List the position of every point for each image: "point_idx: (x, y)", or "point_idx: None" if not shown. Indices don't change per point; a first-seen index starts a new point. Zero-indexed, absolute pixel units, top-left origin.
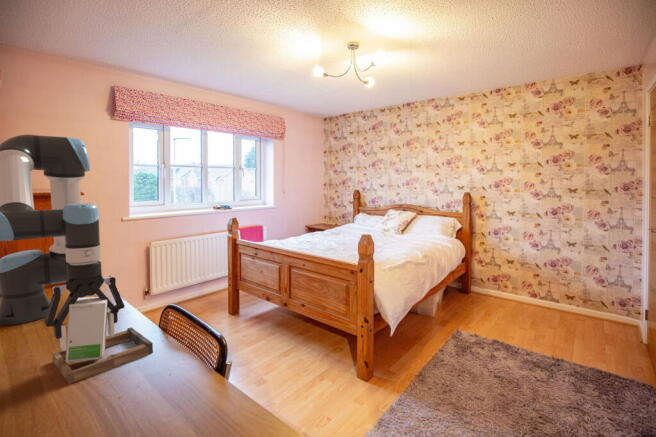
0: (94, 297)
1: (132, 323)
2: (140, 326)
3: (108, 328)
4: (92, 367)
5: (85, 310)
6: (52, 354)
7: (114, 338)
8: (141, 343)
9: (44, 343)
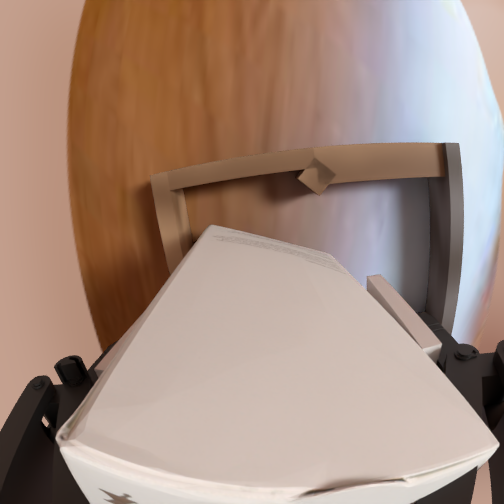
0: (384, 501)
1: (445, 35)
2: (467, 84)
3: (376, 299)
4: None
5: None
6: (152, 177)
7: (386, 178)
8: (437, 291)
9: (158, 9)
